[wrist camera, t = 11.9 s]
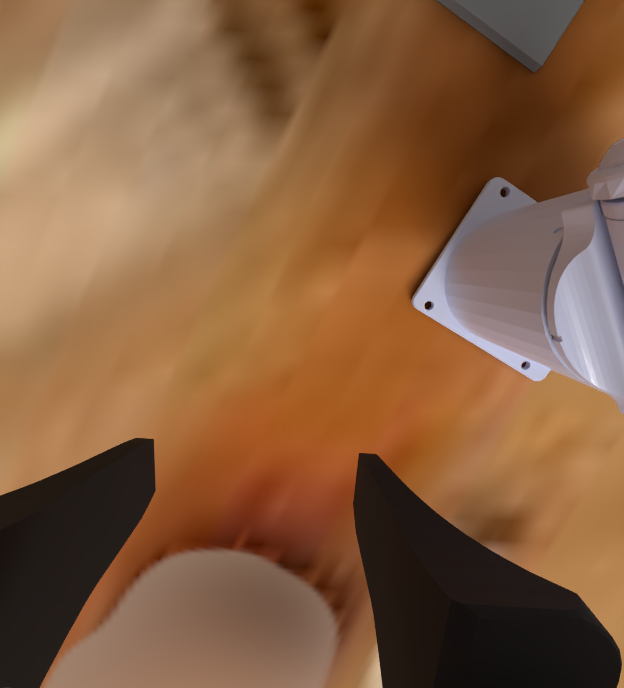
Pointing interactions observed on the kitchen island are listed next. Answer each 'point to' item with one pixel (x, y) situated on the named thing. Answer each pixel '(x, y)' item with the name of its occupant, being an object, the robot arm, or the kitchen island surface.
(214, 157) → the kitchen island surface
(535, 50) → the mat
